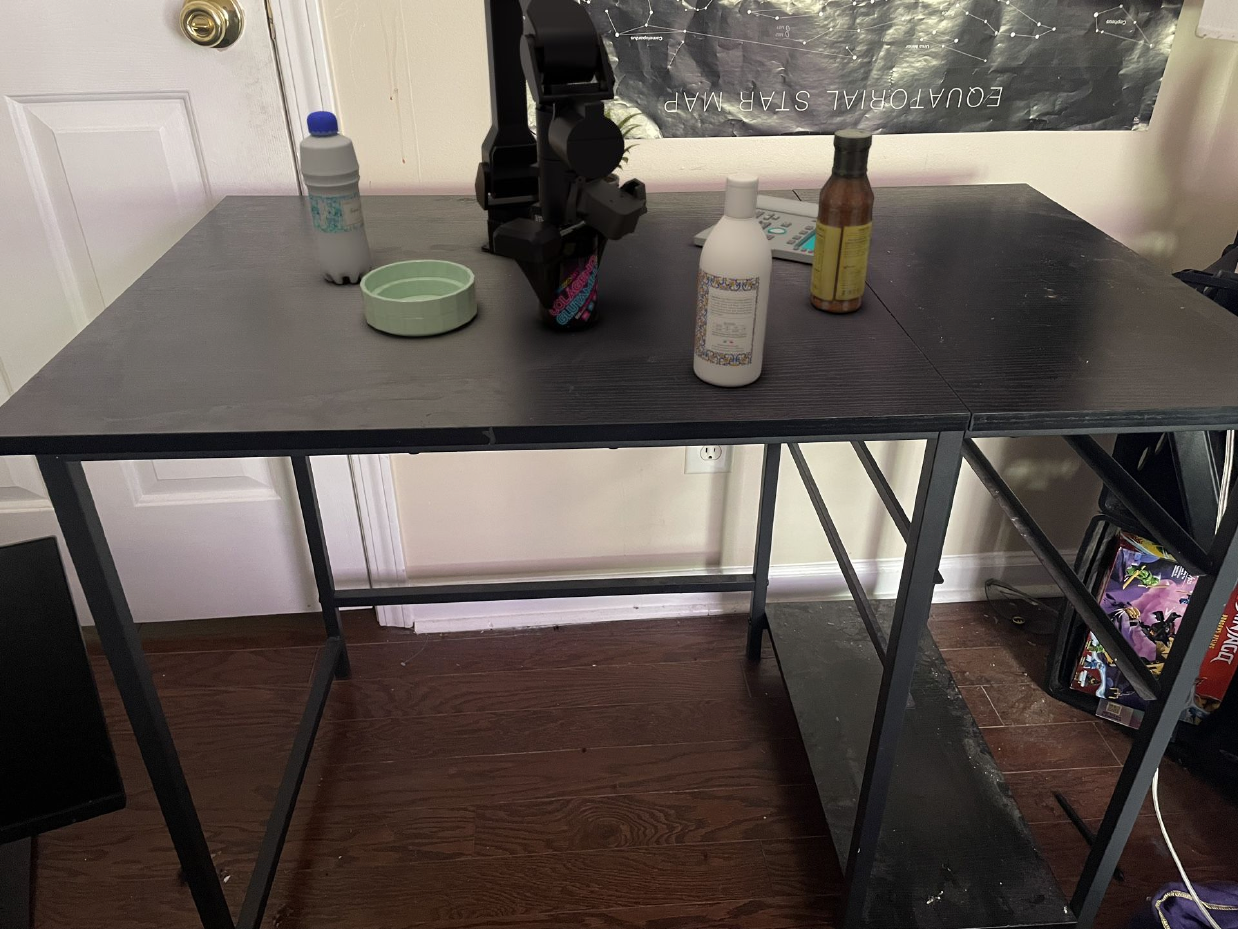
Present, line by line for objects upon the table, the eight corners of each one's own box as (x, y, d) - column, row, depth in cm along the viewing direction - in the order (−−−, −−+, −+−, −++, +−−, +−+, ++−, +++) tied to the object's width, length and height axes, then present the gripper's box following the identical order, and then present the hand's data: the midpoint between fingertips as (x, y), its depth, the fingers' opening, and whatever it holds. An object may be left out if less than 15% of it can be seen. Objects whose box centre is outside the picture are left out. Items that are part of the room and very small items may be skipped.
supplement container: (535, 332, 101) (531, 241, 95) (543, 308, 106) (540, 221, 101) (595, 335, 100) (594, 244, 95) (600, 310, 106) (600, 223, 100)
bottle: (361, 289, 111) (334, 119, 100) (310, 285, 112) (278, 115, 101) (383, 270, 116) (360, 106, 105) (335, 266, 117) (307, 103, 106)
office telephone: (759, 187, 140) (886, 207, 132) (757, 204, 142) (883, 225, 133) (694, 226, 123) (835, 252, 115) (693, 245, 125) (832, 272, 116)
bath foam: (718, 352, 97) (732, 162, 86) (773, 371, 93) (795, 175, 82) (679, 374, 92) (689, 177, 81) (735, 396, 89) (754, 192, 78)
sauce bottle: (864, 298, 110) (892, 128, 99) (858, 318, 105) (887, 141, 94) (810, 291, 111) (831, 123, 100) (801, 310, 106) (823, 136, 96)
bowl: (418, 287, 111) (414, 252, 109) (499, 309, 106) (496, 273, 103) (342, 323, 102) (336, 285, 100) (426, 349, 97) (422, 310, 94)
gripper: (579, 187, 83) (582, 342, 91) (676, 146, 96) (671, 285, 105) (484, 170, 88) (495, 319, 96) (589, 133, 101) (591, 267, 110)
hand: (568, 296), depth 102 cm, fingers closed on supplement container, 8 cm apart
